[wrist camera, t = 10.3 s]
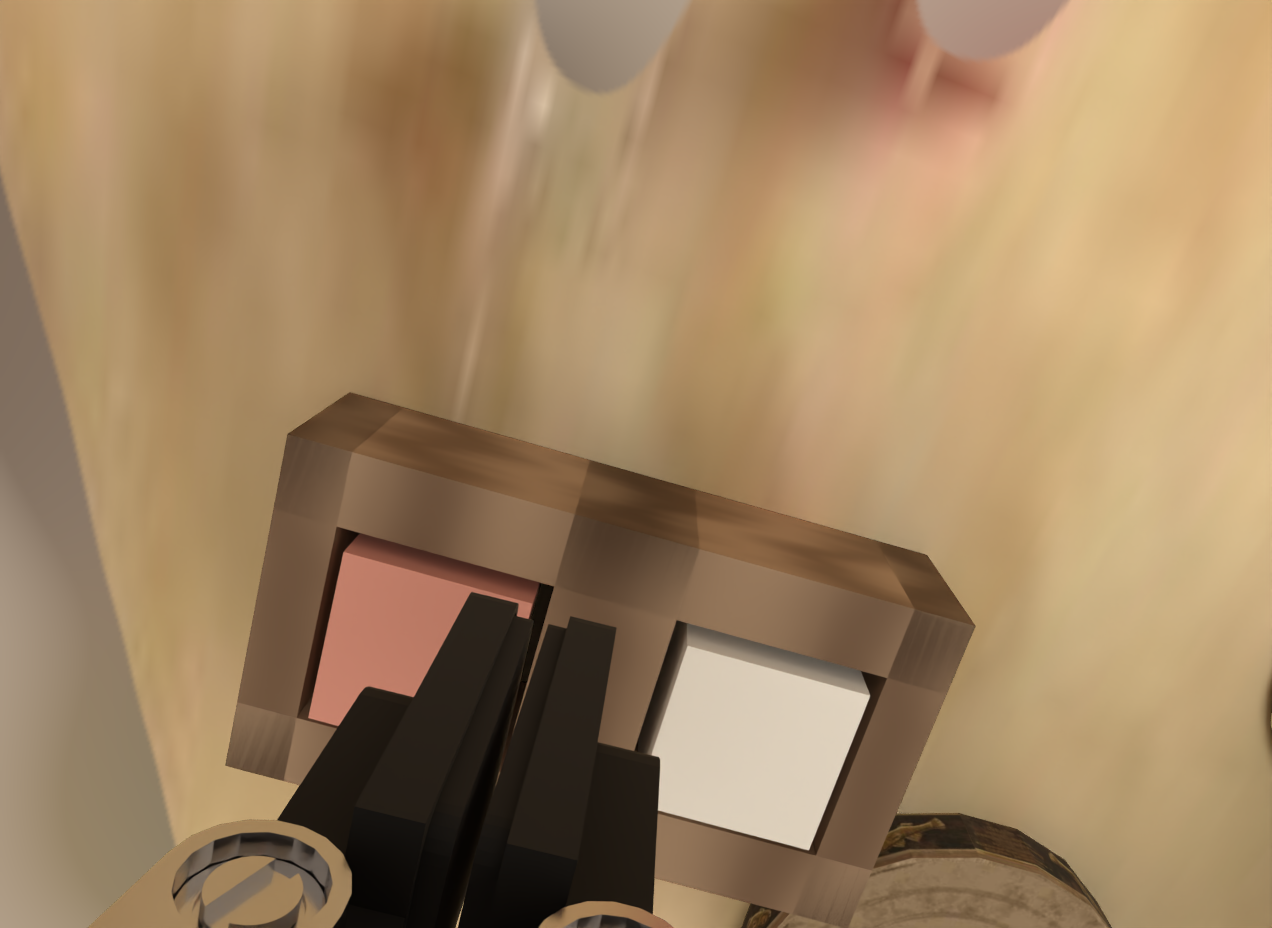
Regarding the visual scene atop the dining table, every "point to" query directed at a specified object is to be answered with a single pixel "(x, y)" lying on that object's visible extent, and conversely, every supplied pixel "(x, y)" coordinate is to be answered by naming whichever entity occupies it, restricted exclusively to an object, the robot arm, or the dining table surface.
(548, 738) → the robot arm
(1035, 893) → the brown flat disc
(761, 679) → the white block
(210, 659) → the dining table surface
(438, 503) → the frame
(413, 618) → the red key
